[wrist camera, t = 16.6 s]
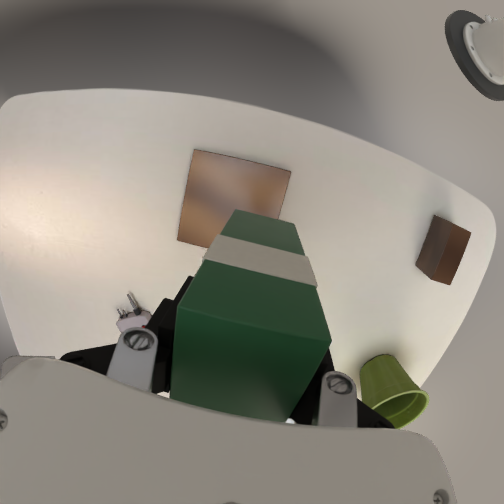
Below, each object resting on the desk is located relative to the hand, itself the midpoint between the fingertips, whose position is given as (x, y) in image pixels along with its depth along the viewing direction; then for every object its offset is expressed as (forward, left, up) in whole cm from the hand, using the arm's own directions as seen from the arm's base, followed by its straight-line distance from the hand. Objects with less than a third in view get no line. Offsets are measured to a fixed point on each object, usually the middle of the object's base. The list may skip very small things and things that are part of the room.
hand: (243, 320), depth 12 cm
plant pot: (+21, +27, -23) cm, 42 cm away
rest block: (-3, +26, -23) cm, 35 cm away
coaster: (0, -4, -23) cm, 24 cm away
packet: (0, -2, -7) cm, 8 cm away
